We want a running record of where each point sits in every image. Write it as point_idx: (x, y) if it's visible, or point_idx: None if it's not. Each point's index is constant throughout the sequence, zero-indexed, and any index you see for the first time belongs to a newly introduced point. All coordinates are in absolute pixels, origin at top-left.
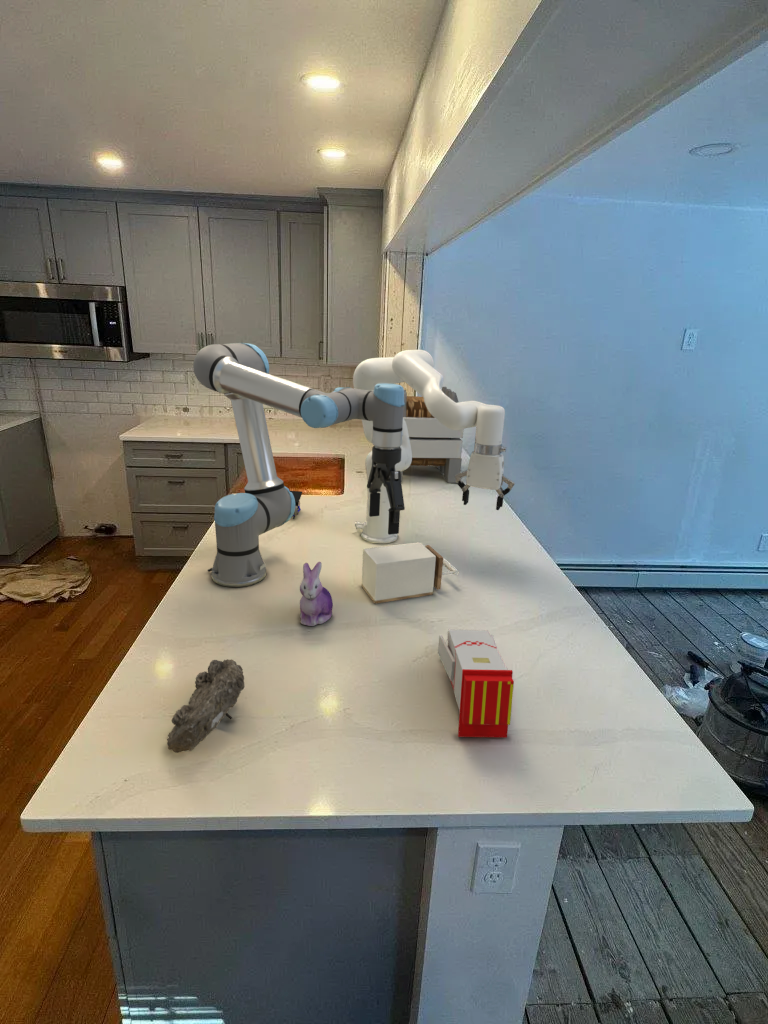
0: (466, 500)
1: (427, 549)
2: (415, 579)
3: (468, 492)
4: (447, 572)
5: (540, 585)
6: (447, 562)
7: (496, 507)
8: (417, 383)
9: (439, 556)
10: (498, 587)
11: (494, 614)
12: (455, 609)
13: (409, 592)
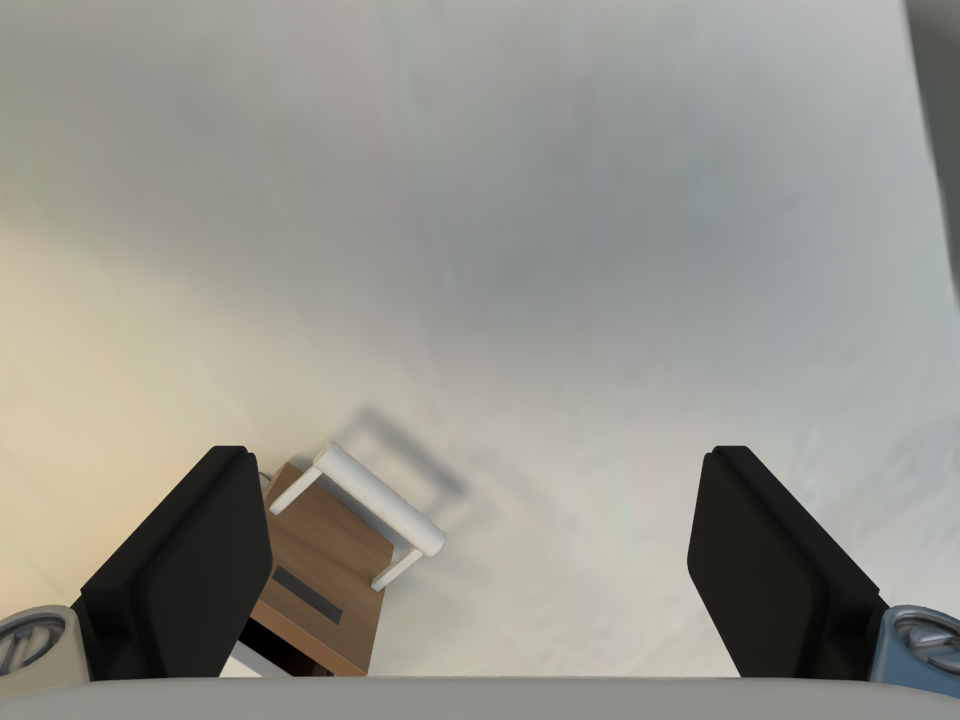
0: (247, 604)
1: (257, 676)
2: None
3: (175, 622)
4: (399, 571)
5: (816, 285)
6: (362, 497)
7: (702, 590)
8: None
9: (343, 672)
10: (616, 395)
11: (626, 595)
12: (488, 618)
13: None
